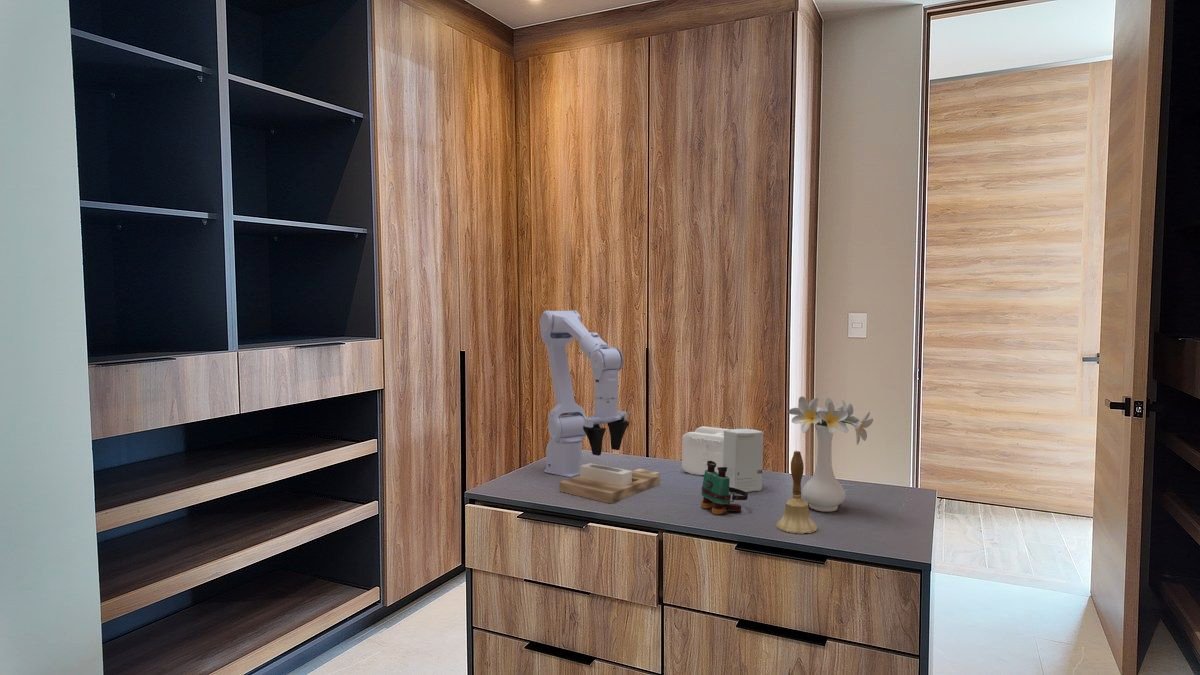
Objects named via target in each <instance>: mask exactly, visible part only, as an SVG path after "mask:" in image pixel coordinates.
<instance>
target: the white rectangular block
mask: <svg viewBox="0 0 1200 675" xmlns="http://www.w3.org/2000/svg"><path fill="white" fill-rule="evenodd" d="M613 467H614V466H610V467H608V466H607V465H602V464H598V463H597V464H596V463H592V462H588V463H586V464H582V466H580V475H579V476H580V478H583V479H588V480H593V481H597V482H602V483H607V484H611V485H616V486H621V487H623V486H626V485H628V484H631V483H632V471H633V470H631V471H629V470H630V469H626V470H624V469H625V468H621V469H618V468H619V467H616V468H613Z"/></svg>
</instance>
